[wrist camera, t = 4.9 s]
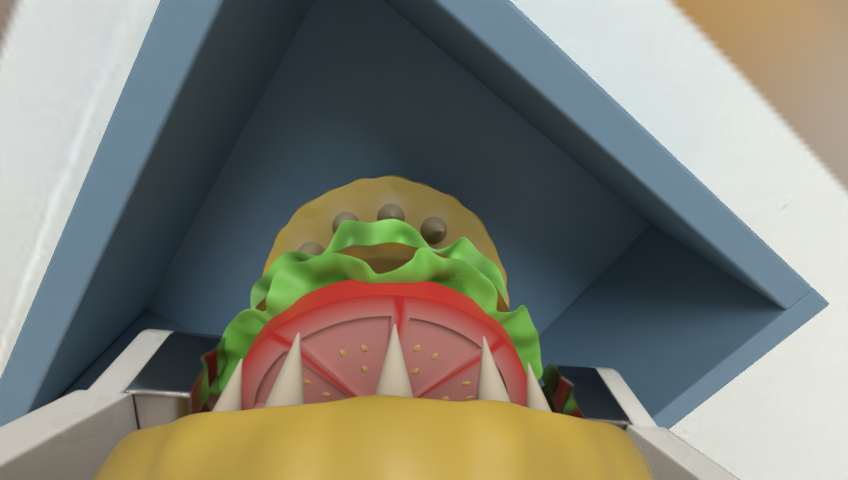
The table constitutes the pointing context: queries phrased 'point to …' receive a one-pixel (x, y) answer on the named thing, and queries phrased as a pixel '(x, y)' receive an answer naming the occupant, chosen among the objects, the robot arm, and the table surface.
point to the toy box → (415, 160)
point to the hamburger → (380, 362)
